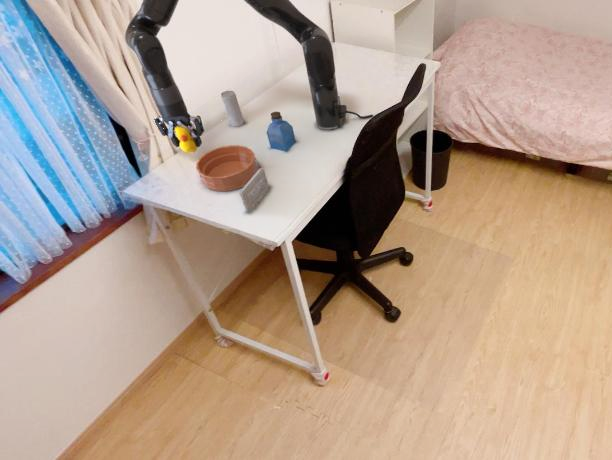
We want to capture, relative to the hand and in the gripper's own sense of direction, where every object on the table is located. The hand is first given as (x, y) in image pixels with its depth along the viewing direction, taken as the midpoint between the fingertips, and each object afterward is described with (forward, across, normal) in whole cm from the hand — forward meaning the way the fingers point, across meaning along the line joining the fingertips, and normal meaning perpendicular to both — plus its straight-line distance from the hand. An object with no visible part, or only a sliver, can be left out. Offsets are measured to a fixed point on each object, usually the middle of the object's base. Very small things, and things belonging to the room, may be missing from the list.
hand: (188, 145), depth 140 cm
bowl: (+5, +15, -9) cm, 18 cm away
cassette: (+5, +27, -21) cm, 35 cm away
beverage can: (+5, +8, +22) cm, 24 cm away
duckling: (+2, 0, 0) cm, 2 cm away
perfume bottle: (+5, +28, +8) cm, 30 cm away
